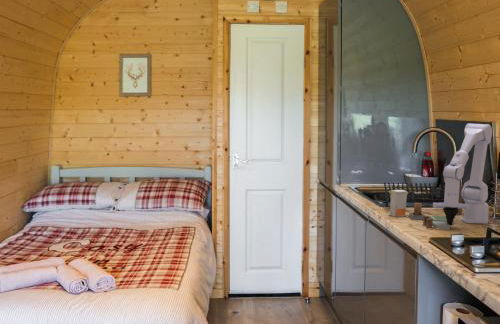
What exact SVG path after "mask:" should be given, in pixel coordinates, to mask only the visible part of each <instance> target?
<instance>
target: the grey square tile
mask: <svg viewBox="0 0 500 324" xmlns="http://www.w3.org/2000/svg"><path fill="white" fill-rule="evenodd" d="M432 226H433V227H432V228H434V227H435V228H440V229H439V230H448V229H450V230H451V225H449V224H447V223H446V222H438V221H433V225H432ZM435 228H434V229H435ZM441 228H442V229H441Z"/></svg>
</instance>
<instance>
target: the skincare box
mask: <svg viewBox="0 0 500 324" xmlns="http://www.w3.org/2000/svg"><path fill="white" fill-rule="evenodd" d="M390 191H391V198H390V204H389V205H390V206H389V216H392V217H397V218H399V217H406V212H407V198H408V197H407V196H408V194H407V192H408V191H407V190H405V189H391V190H390Z"/></svg>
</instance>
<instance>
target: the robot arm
mask: <svg viewBox="0 0 500 324" xmlns="http://www.w3.org/2000/svg"><path fill="white" fill-rule="evenodd" d="M463 132H464V139H463V141H462V144H461V147H460V149H459V150H457V151H456V152H455V153H454V155H453V157H452V158H451V160H450V161H449V162H450V163H449V164H448V165H446V166H445V167H444V168H443V171H442V176H443V181H444V183H445V184H444V198H443V202H432V208H434V209H442V210H443V212H444V216H446V219H447V224H449V225H450V227H451V226H453V225H452V223H453V220H454V219H455V218H456V216H457V213H458V211H459V210H458V209H462V210H464V213H463V217H460V220H462V221H464V222H465V223H466V224H468V223H469V224H489V222H488V220H489V204H488V203H487V200H488V196H489V191H488V189H489V187H488V185H487V184H486V183H485V182H484V181H483V178H484V172H485V171H484V170H485V164H486V157H487V150H488V145H489V144H491V143H492V142H491V141H492V137H493V129H492V126H491V124H489V123H485V124H483V123H471V122H469V123H467V124H466V125H465V127H464V131H463ZM473 146H474V150H473V156H472V157H473V158H472V164H471V171H470V177H469V180H467V181H466V182H464V184H463V186H464V187H463V189H462V192H461V195H462V198H463V202H464V203H463V204H461V203H458V201H459V187H460V184H461V180H462V179H463V177H464V173H465V166H466V165H467V162H468V161H469V157H470V156H469V152H470V151H471V150H472V148H473ZM454 221H455V220H454Z"/></svg>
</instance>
